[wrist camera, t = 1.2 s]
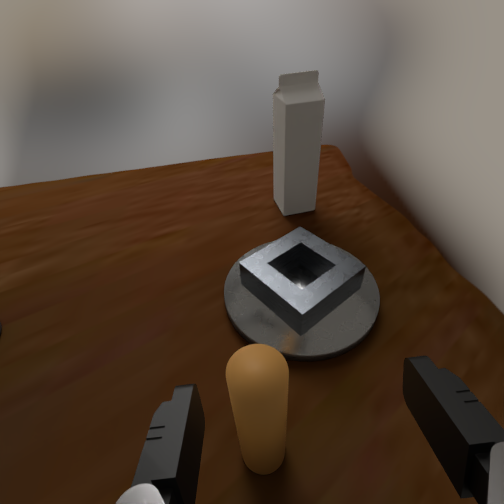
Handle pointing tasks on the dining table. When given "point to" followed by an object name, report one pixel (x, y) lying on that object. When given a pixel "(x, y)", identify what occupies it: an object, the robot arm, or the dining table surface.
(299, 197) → the milk
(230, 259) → the dining table surface
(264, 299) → the square frame on disc
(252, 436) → the pin
